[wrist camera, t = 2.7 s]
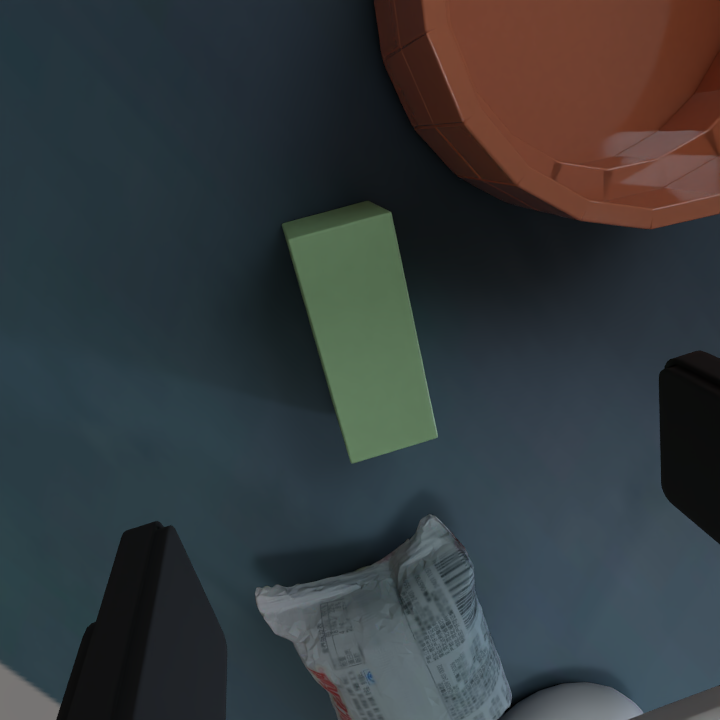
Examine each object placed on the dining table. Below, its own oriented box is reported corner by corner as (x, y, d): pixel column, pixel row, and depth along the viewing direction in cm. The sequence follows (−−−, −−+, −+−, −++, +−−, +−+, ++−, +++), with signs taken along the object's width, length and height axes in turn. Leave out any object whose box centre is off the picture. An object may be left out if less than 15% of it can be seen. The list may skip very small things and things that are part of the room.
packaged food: (342, 725, 29) (360, 832, 25) (251, 560, 25) (253, 654, 20) (496, 659, 30) (542, 751, 25) (436, 484, 25) (478, 559, 20)
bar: (281, 223, 20) (287, 239, 16) (368, 199, 20) (391, 211, 17) (337, 418, 23) (351, 464, 20) (411, 395, 23) (438, 437, 20)
